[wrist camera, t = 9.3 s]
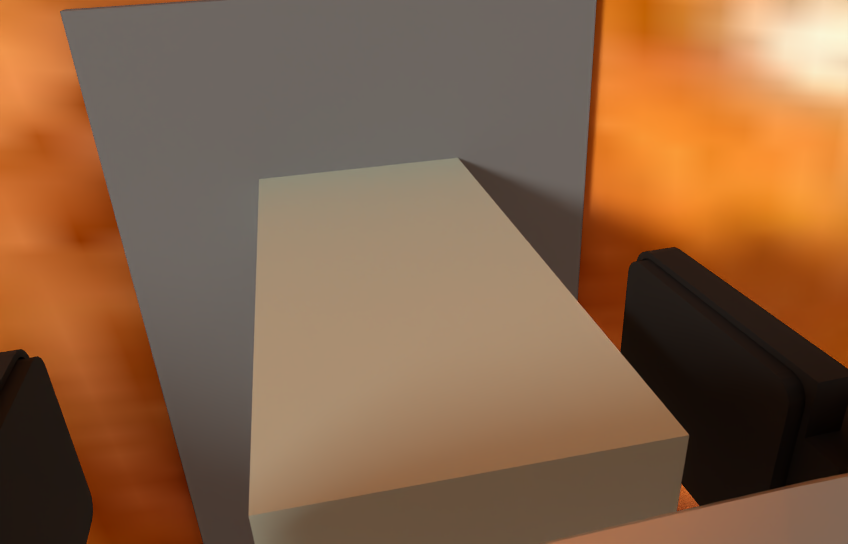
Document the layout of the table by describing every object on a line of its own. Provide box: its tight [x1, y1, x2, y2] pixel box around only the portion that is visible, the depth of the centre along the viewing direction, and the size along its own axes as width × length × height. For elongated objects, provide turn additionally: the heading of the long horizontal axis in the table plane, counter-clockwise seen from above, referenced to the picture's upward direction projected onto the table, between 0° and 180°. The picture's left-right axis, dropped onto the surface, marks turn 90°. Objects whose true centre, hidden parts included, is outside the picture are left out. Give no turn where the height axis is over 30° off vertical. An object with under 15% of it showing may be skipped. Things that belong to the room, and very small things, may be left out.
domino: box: [249, 158, 689, 544], centre depth 13 cm, size 2×5×11 cm, turn 92°
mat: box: [60, 0, 597, 544], centre depth 22 cm, size 28×12×1 cm, turn 3°
